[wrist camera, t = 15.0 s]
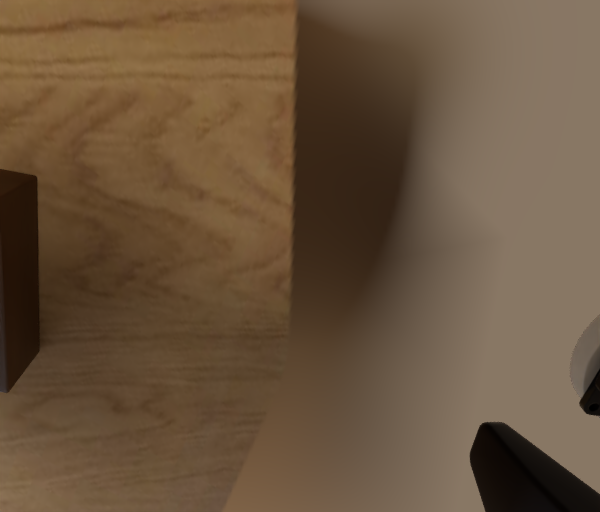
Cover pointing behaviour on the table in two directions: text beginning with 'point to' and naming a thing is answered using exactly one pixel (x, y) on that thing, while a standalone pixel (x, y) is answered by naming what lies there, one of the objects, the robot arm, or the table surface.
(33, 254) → the block
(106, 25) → the table surface
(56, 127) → the table surface
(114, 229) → the table surface
